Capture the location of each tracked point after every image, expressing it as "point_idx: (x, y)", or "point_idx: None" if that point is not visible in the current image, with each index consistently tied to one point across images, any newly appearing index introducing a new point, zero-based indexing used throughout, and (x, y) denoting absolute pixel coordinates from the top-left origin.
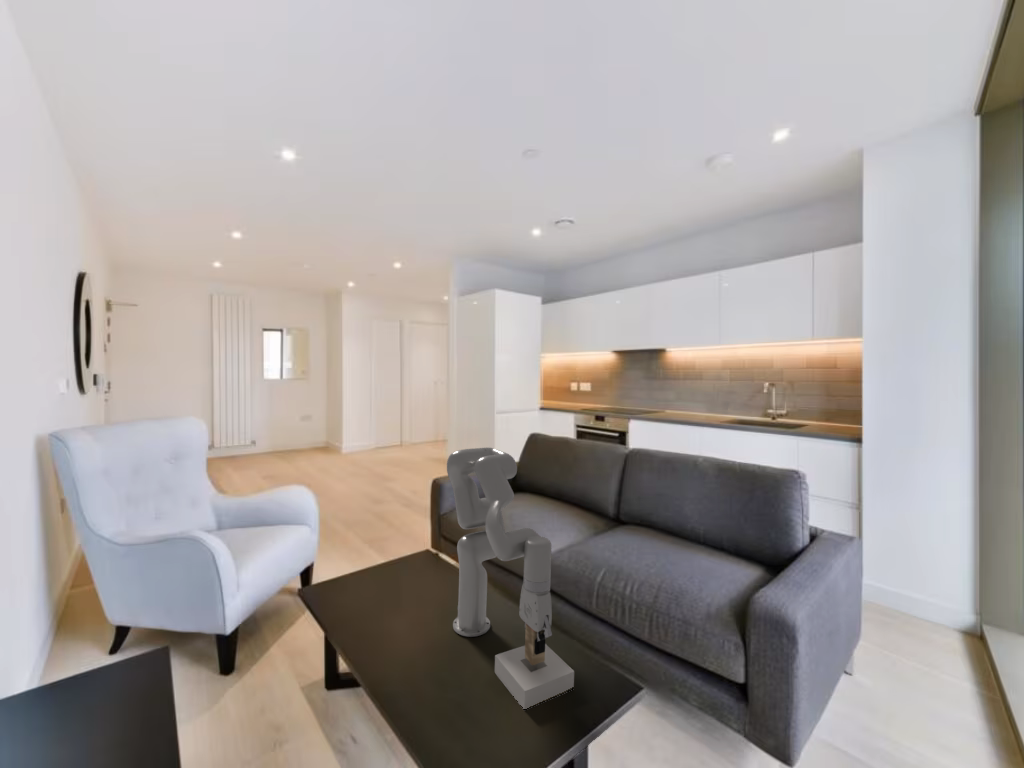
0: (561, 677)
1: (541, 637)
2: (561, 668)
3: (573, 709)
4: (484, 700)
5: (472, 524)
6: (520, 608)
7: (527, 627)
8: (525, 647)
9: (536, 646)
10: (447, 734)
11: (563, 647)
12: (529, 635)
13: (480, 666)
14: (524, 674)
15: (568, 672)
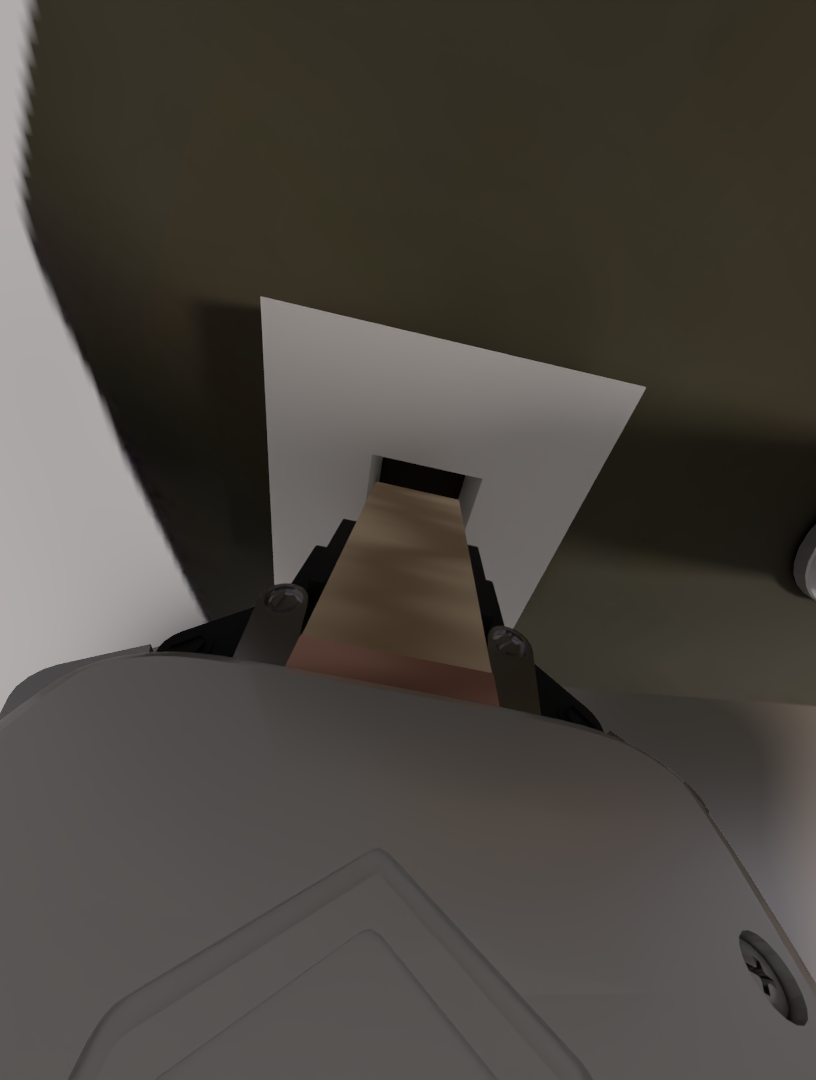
0: (274, 539)
1: (225, 629)
2: None
3: (233, 489)
4: (498, 150)
5: None
6: (797, 1055)
7: (445, 652)
8: (458, 527)
9: (325, 553)
10: None
11: None
12: (400, 591)
13: (693, 351)
14: (378, 410)
15: (280, 576)
